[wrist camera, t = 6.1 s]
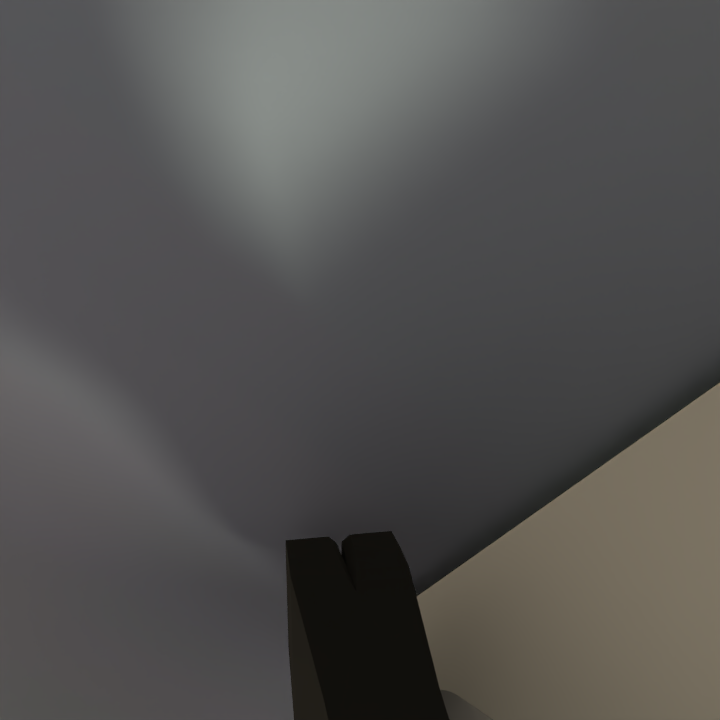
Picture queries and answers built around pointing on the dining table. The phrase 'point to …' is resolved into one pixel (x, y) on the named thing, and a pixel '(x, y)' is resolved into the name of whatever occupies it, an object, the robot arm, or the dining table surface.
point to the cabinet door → (596, 594)
